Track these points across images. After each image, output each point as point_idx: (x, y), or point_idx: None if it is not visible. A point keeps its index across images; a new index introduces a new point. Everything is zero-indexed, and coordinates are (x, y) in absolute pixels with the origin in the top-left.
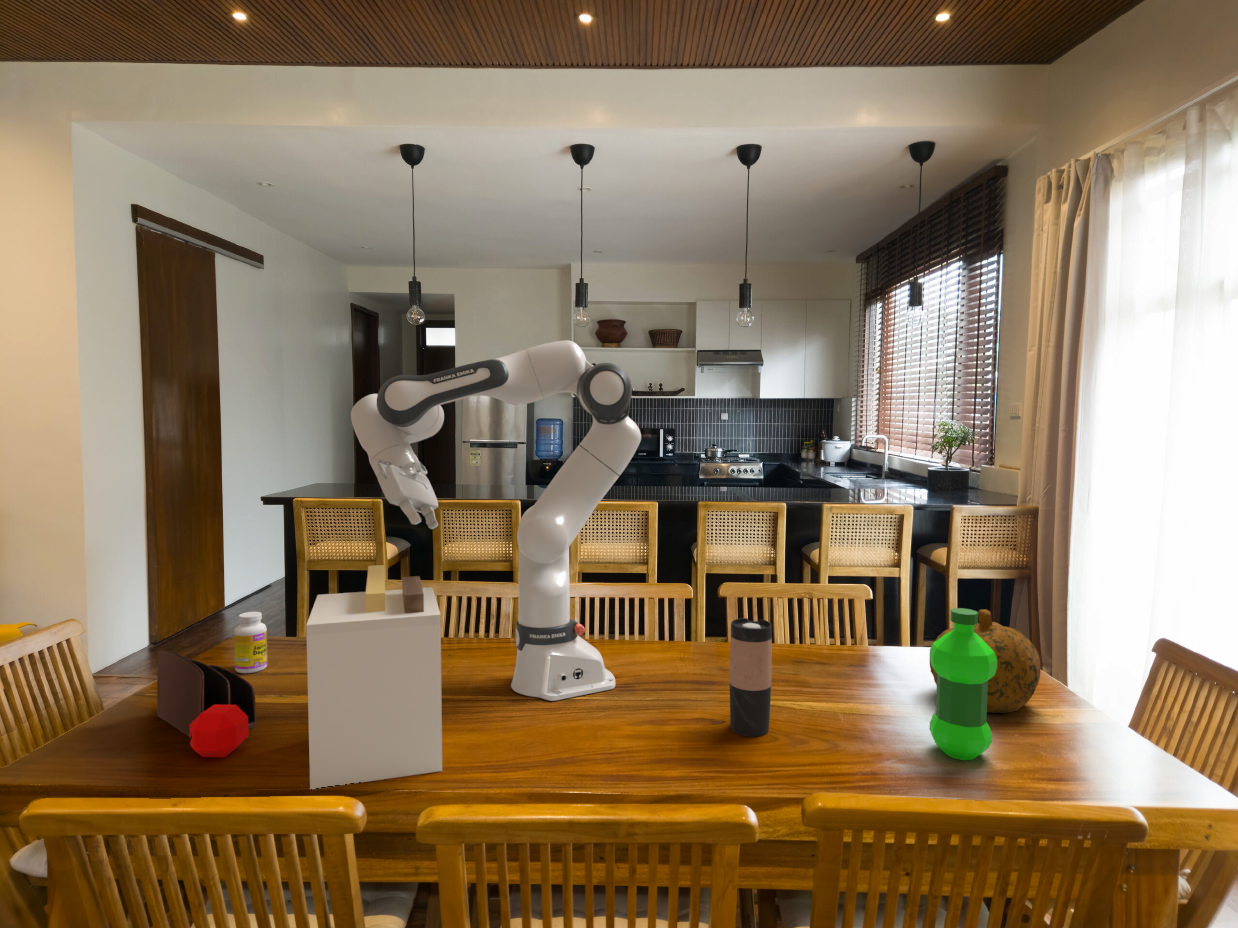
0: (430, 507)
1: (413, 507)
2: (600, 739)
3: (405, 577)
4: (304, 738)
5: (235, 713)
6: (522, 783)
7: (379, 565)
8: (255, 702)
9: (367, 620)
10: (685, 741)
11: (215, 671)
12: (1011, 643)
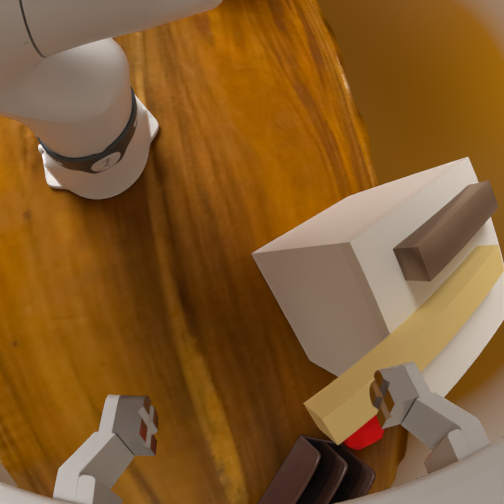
0: (89, 499)
1: (450, 412)
2: (253, 66)
3: (431, 272)
4: (316, 372)
5: (369, 420)
6: (347, 122)
7: (330, 425)
8: (312, 446)
9: (498, 245)
10: (240, 8)
11: (336, 490)
12: None
